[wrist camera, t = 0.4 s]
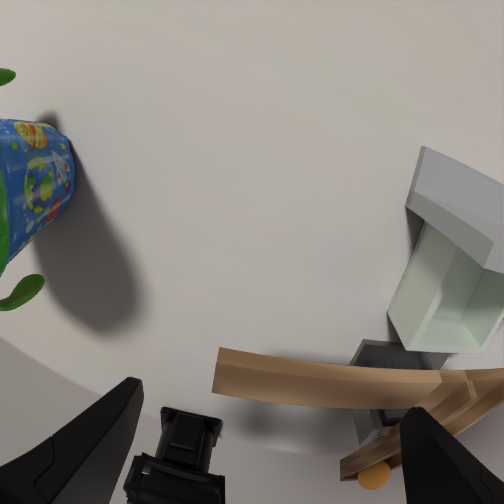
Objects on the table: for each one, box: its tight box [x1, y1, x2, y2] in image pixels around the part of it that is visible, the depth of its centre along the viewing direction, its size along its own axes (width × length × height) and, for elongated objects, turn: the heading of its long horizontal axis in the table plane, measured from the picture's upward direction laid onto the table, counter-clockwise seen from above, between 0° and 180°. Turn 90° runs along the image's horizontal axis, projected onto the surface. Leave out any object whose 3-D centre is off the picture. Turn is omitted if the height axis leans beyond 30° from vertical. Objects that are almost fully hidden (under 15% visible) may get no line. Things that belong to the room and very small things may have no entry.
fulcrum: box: [349, 339, 451, 445], centre depth 21 cm, size 8×10×7 cm
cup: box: [387, 220, 504, 354], centre depth 18 cm, size 8×8×4 cm
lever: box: [212, 347, 504, 481], centre depth 17 cm, size 18×19×3 cm
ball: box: [358, 461, 391, 490], centre depth 20 cm, size 3×3×3 cm
